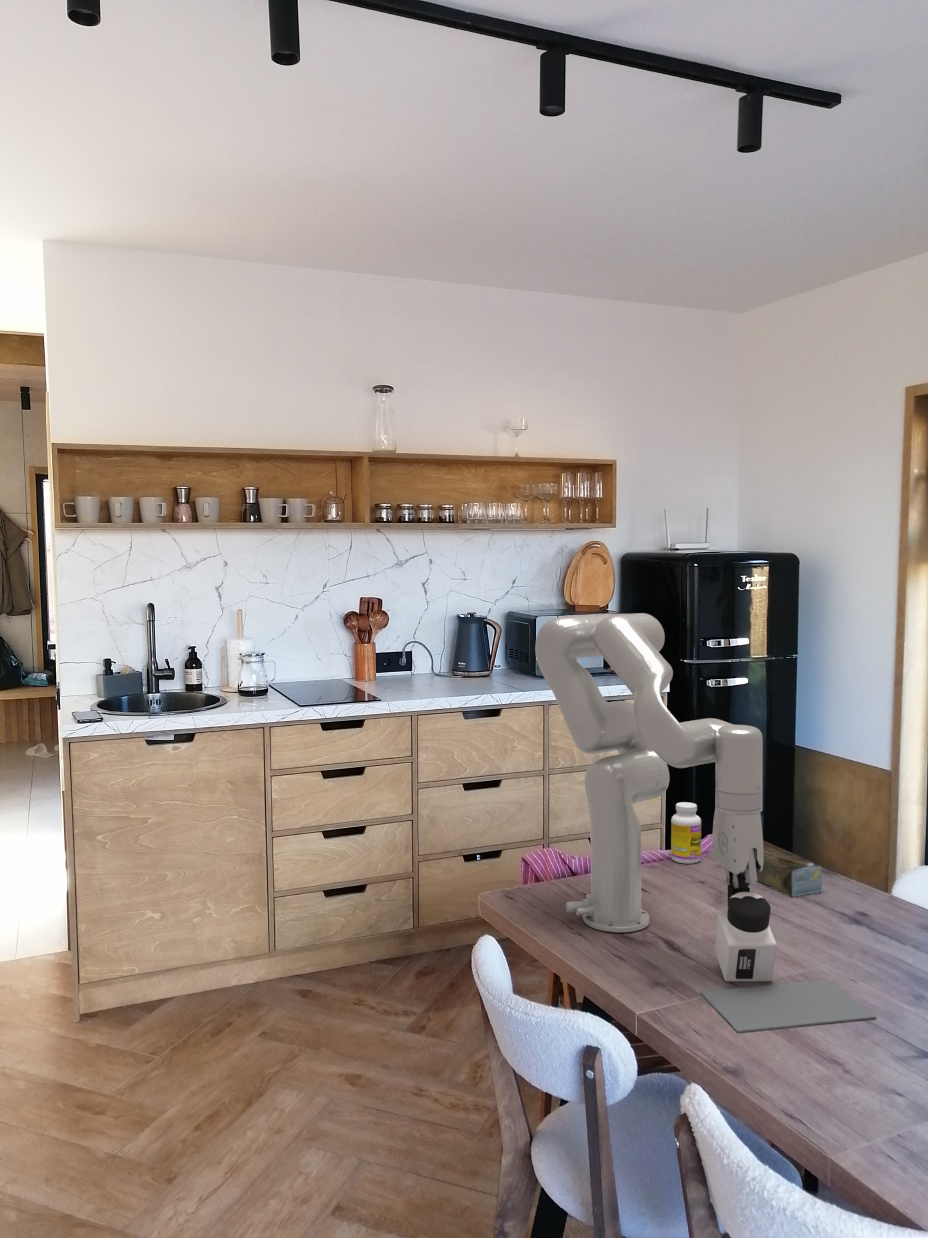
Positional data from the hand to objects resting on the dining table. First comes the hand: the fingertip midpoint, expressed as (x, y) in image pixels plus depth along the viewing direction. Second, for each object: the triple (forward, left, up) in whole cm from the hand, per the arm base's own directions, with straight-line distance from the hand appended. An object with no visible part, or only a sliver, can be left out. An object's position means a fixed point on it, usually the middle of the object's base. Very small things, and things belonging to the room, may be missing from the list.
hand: (738, 908), depth 160 cm
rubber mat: (+1, -14, -10) cm, 17 cm away
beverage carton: (+28, +39, -11) cm, 49 cm away
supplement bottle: (+15, +57, -10) cm, 60 cm away
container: (0, -2, -9) cm, 9 cm away
